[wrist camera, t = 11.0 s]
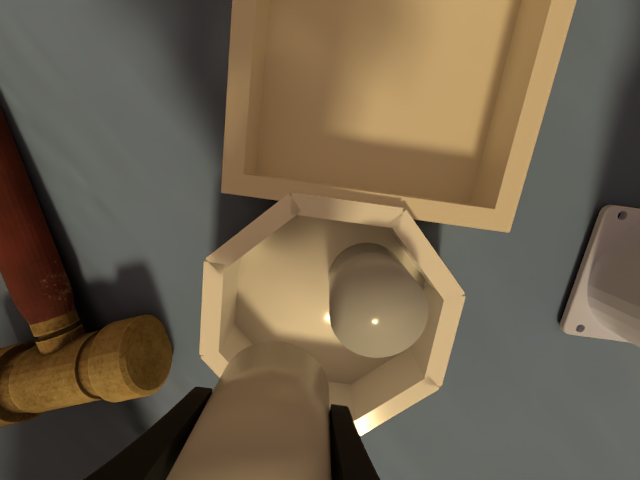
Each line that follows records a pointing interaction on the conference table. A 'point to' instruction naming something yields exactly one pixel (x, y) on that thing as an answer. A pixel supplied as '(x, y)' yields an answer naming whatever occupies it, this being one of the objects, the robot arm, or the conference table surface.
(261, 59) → the tray
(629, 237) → the robot arm
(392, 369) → the bowl
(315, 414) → the stone
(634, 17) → the conference table surface
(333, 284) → the stone
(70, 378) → the gavel
